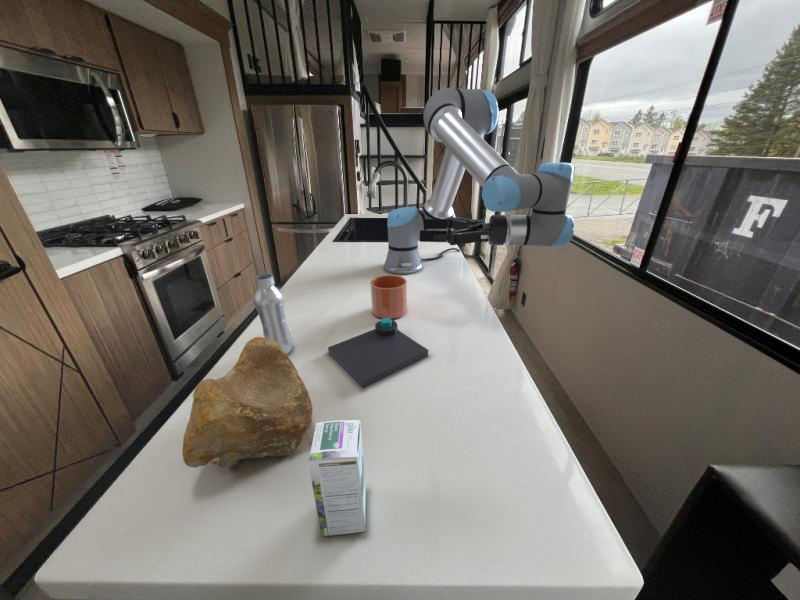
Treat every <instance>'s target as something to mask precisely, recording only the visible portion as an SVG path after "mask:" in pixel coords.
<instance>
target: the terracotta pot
mask: <svg viewBox="0 0 800 600" xmlns="http://www.w3.org/2000/svg"><path fill="white" fill-rule="evenodd" d="M369 285H370V286H369V287H370V301H371V312H372V314H373V315H374V316H376V317H378V318H380V319H383V318H390V319H391V320H394V319H395V320H396V319H398V318H401V317H402V316H404V315H405V314H406V313H407V312H408V281H407V279H406V278H405V277H403V276H400V275H397V274H396V275H395V274H385V275H380V276H376V277H374V278H372V279H371V280H370V282H369Z"/></svg>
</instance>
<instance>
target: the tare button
mask: <svg viewBox="0 0 800 600" xmlns="http://www.w3.org/2000/svg"><path fill="white" fill-rule="evenodd" d="M392 320H393V319H390V318H380V321H381V328H385V329H386V328H390V327H392Z"/></svg>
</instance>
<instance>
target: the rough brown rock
mask: <svg viewBox="0 0 800 600" xmlns="http://www.w3.org/2000/svg"><path fill="white" fill-rule="evenodd" d="M299 374H300V373H299V372H298V370H297V368H296V366H295V364H294V363H293V361H292V360H291V358H289V356H288V355H287V354H286V353H285V352H284V350H283V349H282V347H281V346H280V345H279V344H278V343H277V342H274V341H272V340H270V339H269V338H264V336H254V337H253V338H251V339H249V340H248V341H247V342H246V343H245V345H244V346H243V349H242V350H241V353H240V354H239V357H238V360H237V362H236V363H235V364H234V365H233V367H232V368H231V370H229V371H228V372H227V373H226V374H225V375H223V376H222V377H219V378H216V379H213V378H206V379H204V380H202V381H200V382H199V383H198V384H197V385H196V386H195V388H194V390H193V394H192V405H191V408H190V414H189V420H188V422H187V425H186V428H185V432H184V435H183V440H182V449H181V450H182V451H181V452H182V459H183V462H184V464H185V465H186V466H187V467H189V468H194V469H195V468H199V467H203V466H206V465H208V464H209V463H211V464H213V465H216V466H218V468H220V469H222V470H224V469H227V468H229V467H231V466H234V465H237V464H238V463H239V462H240V460H245V459H250V458H253V459H262V458H265V457H266V456H267V457H268V456H269V457H284V456H285V457H286V456H291V455H292V454H293V453H294V452H296V450H297V449H298V448H299V446H300V445H301V444H302V443H301V442H302V439H303V437H304V436H305V435H306V434H307V431H308V430H309V429H310V427H311V425H312V422H313V421H312V420H313V419H312V418H313V403H312V400H311V396H310V393H309V391H308V390H307V388H306V385H305V383H304V381H303V379H302V377H301V376H300V375H299Z"/></svg>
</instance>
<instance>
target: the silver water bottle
mask: <svg viewBox="0 0 800 600" xmlns="http://www.w3.org/2000/svg"><path fill="white" fill-rule="evenodd" d="M254 280H255V285H256V288H257V289H256V292H255V293H254V295H253V300H252V301H253V305H254V307H255V309H256V312H257V314H258V316H259V321H260V323H261V326H262V331H263V332H262V333H263V337H264V338H269V339H270V340H272V341H274V342H277V343H278V344H279V345H280V346H281V347H282V349H283V350H284V352H285V353H286V355H287V354H289V353H290V352H291V351H292V349H293V348H294V338H293V337H292V334H291V332H290V329H289V326H288V323H287V319H286V311H285V297H284V294H283V292H282V291H281V290H280V289H279V288H278V287H277V286H276V285H275V284H276V281H275V277H274V275H273V274H272V273H263V274H260V275H257V276H255V279H254Z"/></svg>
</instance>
